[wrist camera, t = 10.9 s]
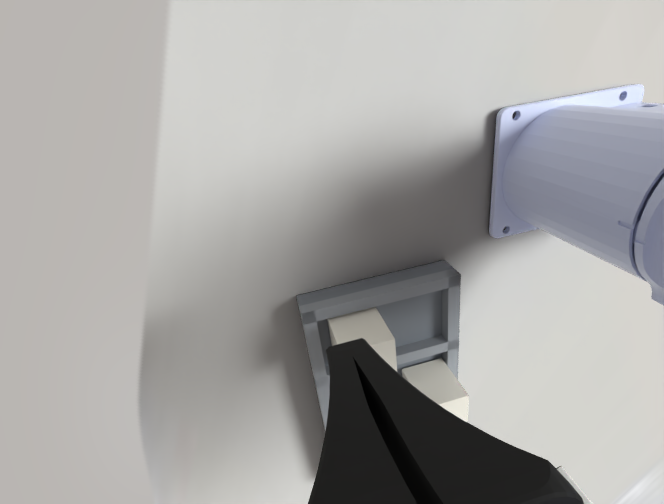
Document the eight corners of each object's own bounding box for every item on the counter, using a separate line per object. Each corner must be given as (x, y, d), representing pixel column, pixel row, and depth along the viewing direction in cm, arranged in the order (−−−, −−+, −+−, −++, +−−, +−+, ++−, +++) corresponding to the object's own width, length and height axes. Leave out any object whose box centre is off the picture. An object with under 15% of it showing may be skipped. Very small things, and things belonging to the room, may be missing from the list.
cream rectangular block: (441, 358, 26) (468, 395, 23) (441, 388, 27) (467, 427, 24) (401, 369, 26) (424, 408, 23) (403, 399, 27) (425, 440, 24)
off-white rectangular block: (373, 303, 23) (395, 339, 20) (377, 341, 24) (398, 379, 21) (326, 315, 22) (340, 353, 19) (333, 353, 24) (347, 394, 21)
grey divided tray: (444, 260, 24) (460, 274, 23) (443, 431, 32) (455, 452, 30) (296, 295, 23) (301, 313, 21) (332, 466, 30) (338, 490, 29)
